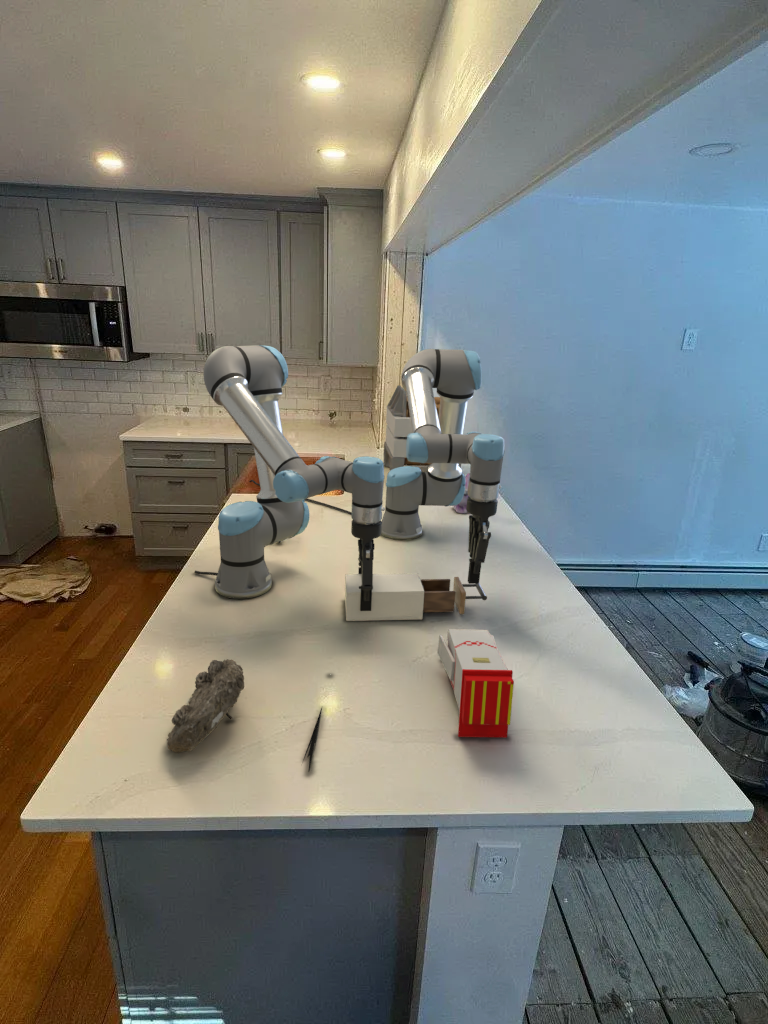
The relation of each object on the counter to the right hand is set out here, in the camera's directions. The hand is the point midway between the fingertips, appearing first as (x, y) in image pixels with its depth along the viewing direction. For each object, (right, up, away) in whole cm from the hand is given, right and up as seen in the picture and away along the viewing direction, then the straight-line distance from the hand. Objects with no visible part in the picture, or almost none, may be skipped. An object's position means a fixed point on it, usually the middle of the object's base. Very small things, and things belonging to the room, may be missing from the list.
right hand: (473, 582), depth 149 cm
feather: (-36, -21, -40) cm, 58 cm away
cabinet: (-24, -7, 0) cm, 25 cm away
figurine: (+9, +19, +78) cm, 80 cm away
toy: (-6, -19, -30) cm, 36 cm away
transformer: (-6, +37, +126) cm, 132 cm away
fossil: (-56, -21, -41) cm, 73 cm away
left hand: (-29, -4, -2) cm, 29 cm away
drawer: (-9, -6, +1) cm, 11 cm away
